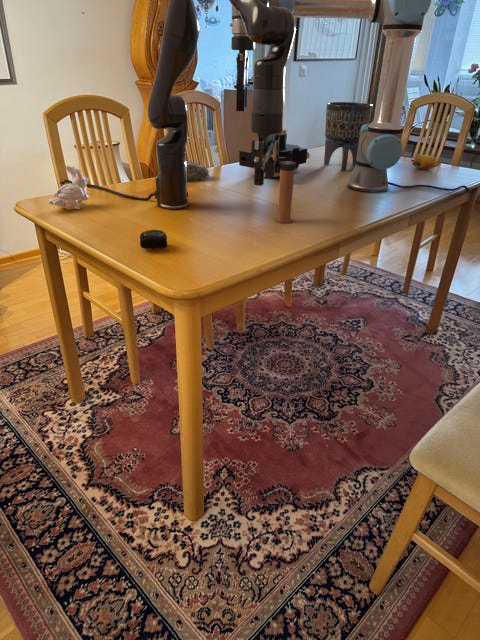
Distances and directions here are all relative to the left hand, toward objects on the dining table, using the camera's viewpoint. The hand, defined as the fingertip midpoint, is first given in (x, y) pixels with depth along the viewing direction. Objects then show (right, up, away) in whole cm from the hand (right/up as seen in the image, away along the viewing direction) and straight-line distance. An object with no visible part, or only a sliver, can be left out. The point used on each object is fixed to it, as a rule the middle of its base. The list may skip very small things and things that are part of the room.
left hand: (264, 181), depth 113 cm
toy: (+80, +37, +99) cm, 132 cm away
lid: (+8, +10, +18) cm, 22 cm away
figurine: (-61, +2, +34) cm, 70 cm away
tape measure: (-28, -16, +4) cm, 33 cm away
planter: (+41, +36, +97) cm, 112 cm away
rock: (-25, +22, +71) cm, 78 cm away
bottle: (+7, -4, +26) cm, 28 cm away
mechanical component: (+11, +29, +83) cm, 89 cm away
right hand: (-5, +37, +41) cm, 56 cm away
